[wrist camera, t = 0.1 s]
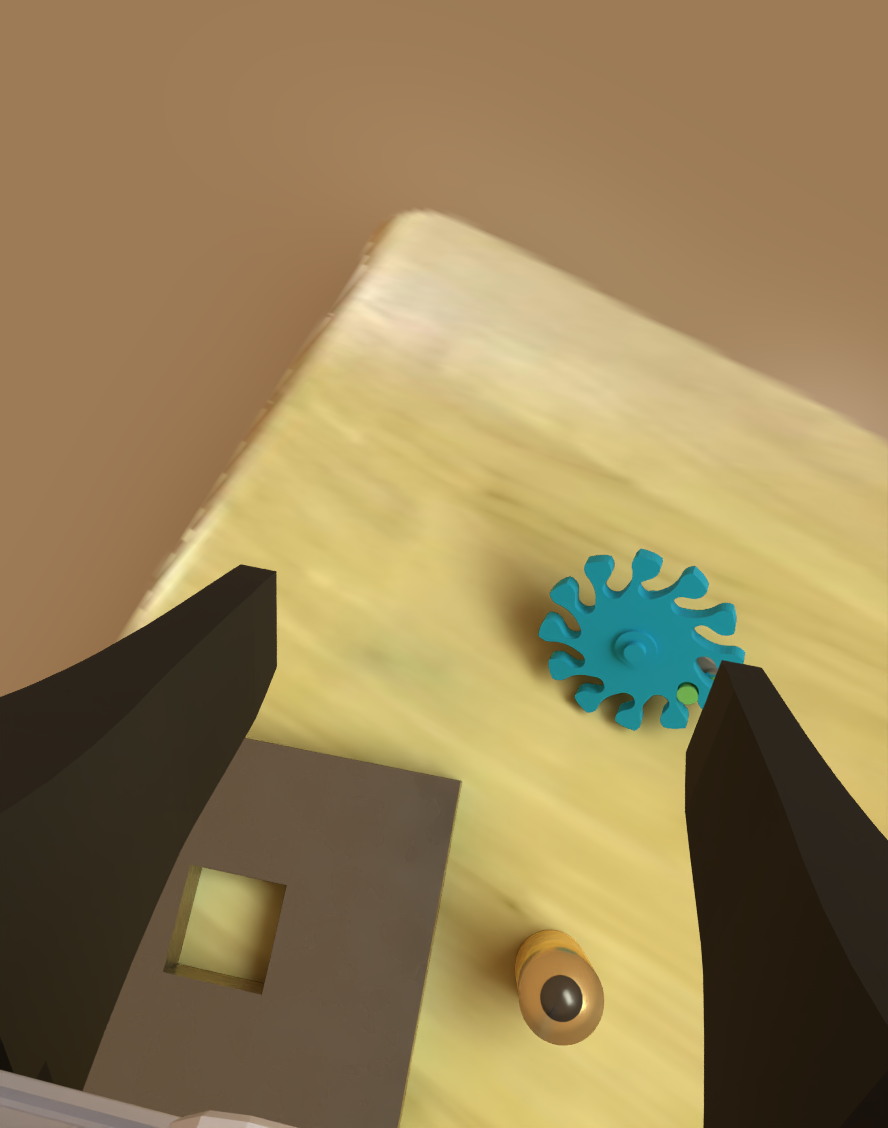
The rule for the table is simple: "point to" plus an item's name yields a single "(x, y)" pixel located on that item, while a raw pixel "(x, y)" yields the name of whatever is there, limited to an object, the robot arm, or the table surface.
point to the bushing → (558, 988)
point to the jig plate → (293, 949)
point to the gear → (640, 640)
